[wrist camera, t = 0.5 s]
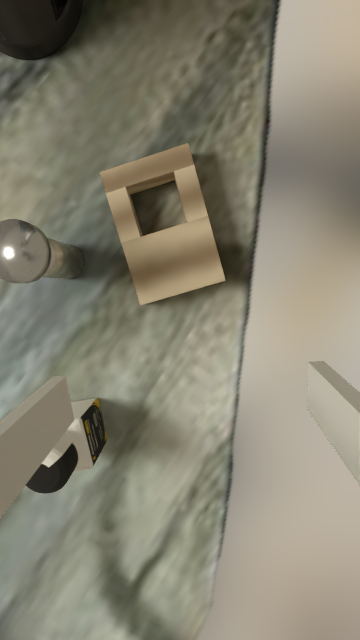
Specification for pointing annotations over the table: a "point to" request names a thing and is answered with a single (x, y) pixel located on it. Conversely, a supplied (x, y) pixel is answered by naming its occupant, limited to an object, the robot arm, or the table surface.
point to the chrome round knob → (34, 254)
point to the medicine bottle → (72, 448)
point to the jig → (169, 244)
